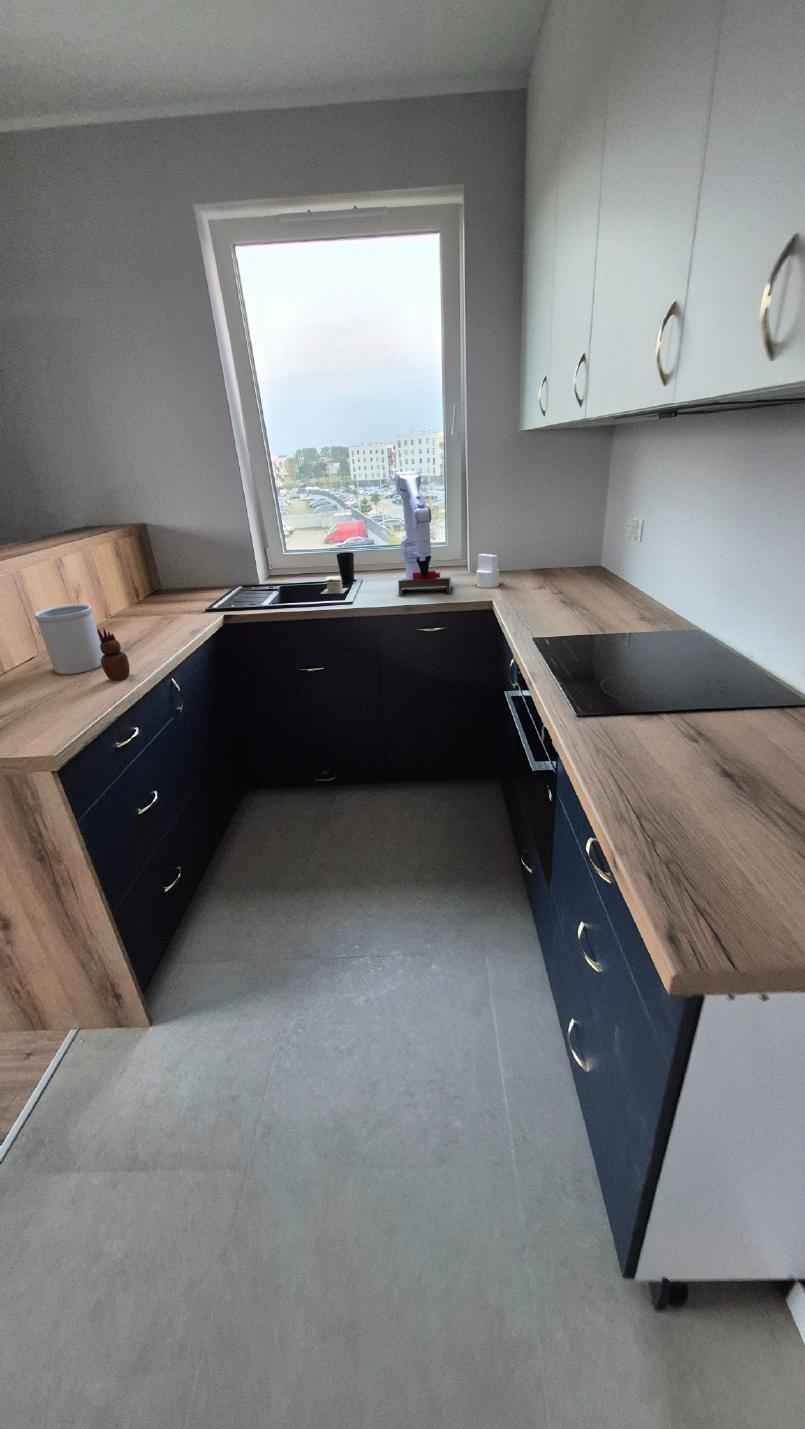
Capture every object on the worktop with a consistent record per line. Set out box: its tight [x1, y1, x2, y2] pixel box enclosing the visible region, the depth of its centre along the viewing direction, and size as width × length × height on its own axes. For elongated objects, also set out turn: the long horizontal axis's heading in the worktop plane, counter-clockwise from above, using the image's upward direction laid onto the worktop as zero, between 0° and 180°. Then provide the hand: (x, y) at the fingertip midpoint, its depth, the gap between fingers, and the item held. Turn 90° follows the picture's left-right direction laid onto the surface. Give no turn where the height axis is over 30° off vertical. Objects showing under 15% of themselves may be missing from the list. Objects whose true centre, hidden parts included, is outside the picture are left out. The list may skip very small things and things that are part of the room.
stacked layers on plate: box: [320, 575, 349, 595], centre depth 241 cm, size 10×9×6 cm
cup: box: [336, 551, 355, 583], centre depth 256 cm, size 8×8×12 cm
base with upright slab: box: [476, 553, 500, 589], centre depth 231 cm, size 9×9×12 cm
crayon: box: [413, 570, 441, 580], centre depth 229 cm, size 3×11×3 cm, turn 84°
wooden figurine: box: [96, 628, 131, 681], centre depth 158 cm, size 7×6×15 cm
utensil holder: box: [33, 603, 104, 675], centre depth 170 cm, size 15×15×18 cm
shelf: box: [397, 576, 452, 597], centre depth 230 cm, size 12×20×6 cm, turn 84°
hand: (424, 575), depth 229 cm, fingers closed on crayon, 3 cm apart
